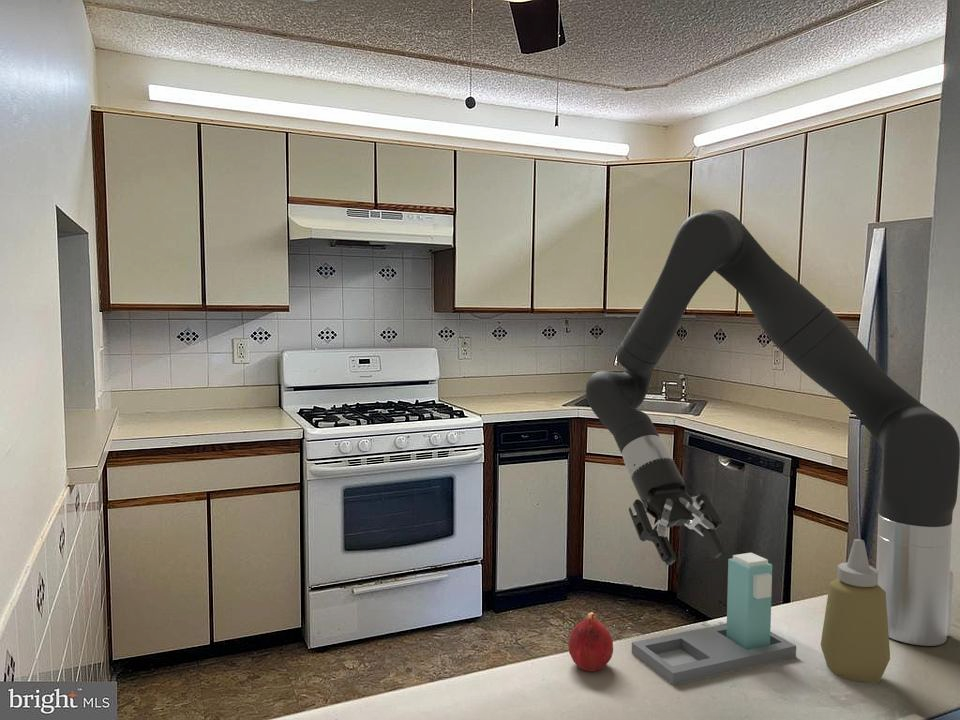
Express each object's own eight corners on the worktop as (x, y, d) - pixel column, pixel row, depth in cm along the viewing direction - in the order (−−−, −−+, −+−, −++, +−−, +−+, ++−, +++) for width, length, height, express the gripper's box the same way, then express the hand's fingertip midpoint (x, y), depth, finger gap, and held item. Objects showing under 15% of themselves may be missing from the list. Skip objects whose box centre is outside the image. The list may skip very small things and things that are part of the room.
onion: (612, 686, 90) (613, 625, 90) (566, 682, 91) (567, 620, 91) (613, 664, 96) (614, 606, 95) (569, 660, 97) (570, 602, 97)
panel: (747, 635, 105) (748, 619, 105) (795, 663, 96) (796, 645, 96) (631, 660, 97) (631, 642, 97) (672, 692, 89) (673, 673, 89)
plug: (749, 638, 102) (751, 551, 101) (774, 653, 97) (776, 562, 96) (726, 643, 100) (728, 554, 99) (750, 658, 96) (753, 566, 95)
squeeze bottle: (903, 691, 89) (910, 550, 88) (841, 694, 89) (846, 551, 88) (864, 660, 97) (870, 530, 96) (807, 662, 97) (811, 531, 96)
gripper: (624, 459, 113) (667, 553, 104) (697, 453, 119) (745, 542, 109) (606, 485, 119) (645, 576, 109) (676, 478, 124) (720, 564, 114)
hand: (695, 559), depth 109 cm, fingers open, 8 cm apart
